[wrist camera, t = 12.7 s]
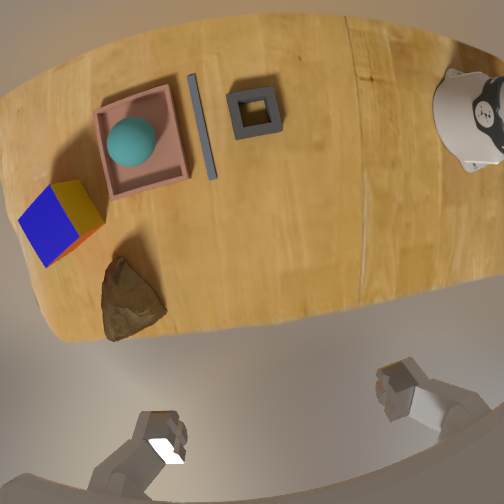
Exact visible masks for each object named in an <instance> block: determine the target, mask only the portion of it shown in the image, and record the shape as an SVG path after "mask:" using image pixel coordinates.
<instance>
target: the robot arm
mask: <svg viewBox="0 0 504 504" xmlns="http://www.w3.org/2000/svg"><path fill="white" fill-rule="evenodd" d="M433 113H434V119H435V124H436V127H437V130H438V133H439V135H440V137H441V139H442V141H443V143H444V144H445V146H446V147H447V148H448V149H449V151H450V152H451V153H452V154H454V155H455V156H456V157H457V158H458V159H459V160H460V162H461V164H462V166H463V167H464V169H465V170H466V172H474V171H476V170H478V169H481V168H483V167H485V166H487V165H489V164H499V162H500V161H502V160H504V76H497V77H494V78H493V77H489V76H488V75H487V74H484V73H482V72H472V73H466V74H465V73H463V72H461V71H459V70H456V69H454V68H450V69H448V70H447V71H446V75H445V80H444V81H443V82H442V83H441V84H440V86H439V87H438V88H437V90H436V93H435V96H434V101H433ZM376 376H377V378H378V381H377V382H376V386H375V387H376V389H375V390H376V395H377V398H378V400H379V402H380V404H382V405H384V406H385V409H384V411H385V414H386V415H387V417H388V419H389V421H390V422H392V421H394V420H397V419H400V418H402V417H405V416H407V415H409V416H410V417H411V418H413V419H415V420H417V421H419V422H420V423H422V424H424V425H426V426H428V427H430V428H431V429H433V430H435V431H437V432H439V433H440V434H439V437H438V439H437V441H436V443H435V445H434V446H432V447H430V448H428V449H426V450H424V451H422V452H419V453H418V454H415V455H413V456H411V457H408V458H406V459H404V460H402V461H399V462H397V463H394V464H392V465H389V466H387V467H384V468H382V469H379V470H376V471H373V472H371V473H368V474H365V475H362V476H359V477H356V478H353V479H349V480H346V481H342V482H339V483H335V484H332V485H328V486H324V487H320V488H316V489H311V490H307V491H302V492H297V493H292V494H286V495H281V496H274V497H268V498H259V499H251V500H240V501H226V502H167V501H153V500H152V499H151V498H150V497H149V496H147V495H146V494H145V493H144V491H145V490H146V489H147V487H148V486H149V485H150V484H151V482H152V481H153V480H154V479H155V477H156V476H157V475H158V474H159V472H160V471H161V470H162V469H163V468H164V466H165V464H170V463H171V464H173V463H184V461H185V455H186V450H185V449H184V447H183V446H184V445H185V444H186V443H187V438H188V436H187V430H186V427H185V425H184V423H183V422H181V421H180V420H179V415H178V413H177V411H142V412H141V413H140V414H139V417H138V420H137V423H136V427H135V430H134V433H133V436H132V440H128V441H126V443H124V444H123V445H122V446H121V447H120V448H118V449H117V450H116V451H115V452H114V453H112V455H110V456H109V457H108V458H107V459H105V460H104V461H103V462H102V463H101V464H99V465H98V466H97V467H96V468H95V469H94V471H93V474H92V477H91V480H90V483H89V486H88V489H87V490H84V489H79V488H75V487H71V486H68V485H64V484H61V483H57V482H54V481H51V480H48V479H45V478H42V477H39V476H36V475H33V474H30V473H23V474H21V475H19V476H17V477H15V478H14V479H12V480H10V481H9V482H7V483H6V484H4V485H3V486H2V487H1V488H0V504H504V402H503V403H502V404H500V405H499V406H498V407H496V408H495V409H494V410H491V409H490V408H489V406H488V405H487V404H486V403H485V402H484V401H483V399H482V398H481V397H480V396H479V394H478V393H476V392H473V391H470V390H467V389H463V388H460V387H457V386H454V385H451V384H448V383H445V382H442V381H439V380H436V379H433V378H432V379H429V378H428V377H427V375H426V374H425V373H424V372H423V371H422V369H421V368H420V367H419V366H418V364H417V363H416V362H415V361H414V359H413V358H411V357H408V358H406V359H403V360H400V361H398V362H395V363H393V364H390V365H387V366H385V367H382V368H379V369H378V370H377V373H376Z"/></svg>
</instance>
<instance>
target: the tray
mask: <svg viewBox="0 0 504 504" xmlns="http://www.w3.org/2000/svg"><path fill="white" fill-rule="evenodd" d="M93 117H94V123H95V129H96V135H97V140H98V146H99V151H100V156H101V161H102V165H103V170H104V174H105V179H106V183H107V187H108V191H109V195H110V199H111V201H113V200H116V199H119V198H123V197H126V196H129V195H132V194H136V193H139V192H142V191H146V190H149V189H153V188H156V187H160V186H164V185H167V184H171V183H175V182H178V181H182V180H186V179H190V173H189V169H188V165H187V160H186V156H185V151H184V147H183V142H182V137H181V133H180V128H179V123H178V118H177V113H176V109H175V104H174V98H173V93H172V88H171V86H170V85H169V84H166V85H162V86H159V87H156V88H153V89H150V90H147V91H144V92H141V93H138V94H135V95H132V96H129V97H127V98H124V99H121V100H119V101H116V102H114V103H111V104H109V105H106V106H104V107H101V108H99V109H97V110H94V111H93ZM128 117H139V118H142V119H144V120H146V121H148V122H149V123H150V124H151V126H152V127H153V129H154V131H155V134H156V146H155V149H154V151H153V153H152V155H151V156H150V157H149V158H148V159H147V160H146V161H145V162H144V163H142V164H140V165H137V166H133V167H126V166H122V165H120V164H118V163H116V162H115V161H114V160H113V159H112V158H111V157H110V155H109V153H108V150H107V138H108V134H109V132H110V130H111V129H112V127H113V126H114V125H115V124H116V123H117V122H119V121H120V120H122V119H124V118H128Z"/></svg>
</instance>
